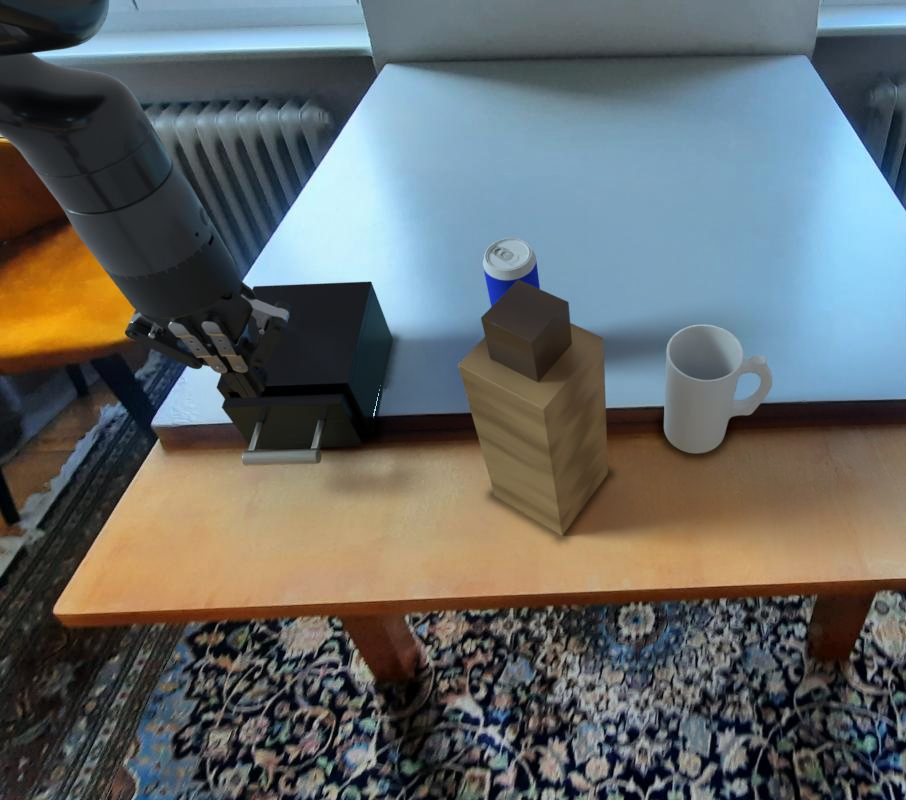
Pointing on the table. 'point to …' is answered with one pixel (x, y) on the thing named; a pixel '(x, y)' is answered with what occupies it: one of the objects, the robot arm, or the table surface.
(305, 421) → the drawer
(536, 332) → the block
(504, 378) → the stand
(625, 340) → the table surface
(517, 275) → the beverage can
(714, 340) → the mug
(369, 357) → the black drawer cabinet
